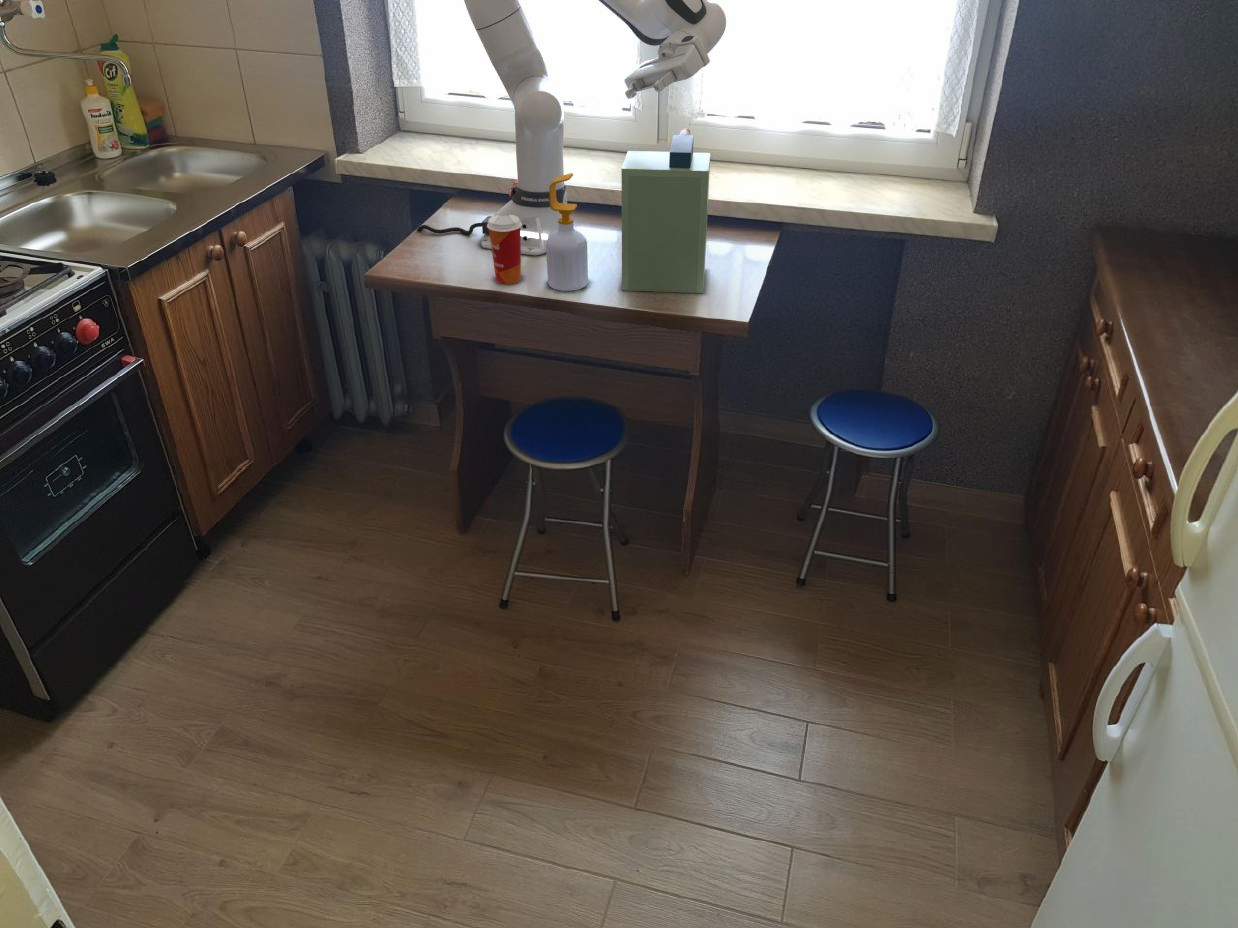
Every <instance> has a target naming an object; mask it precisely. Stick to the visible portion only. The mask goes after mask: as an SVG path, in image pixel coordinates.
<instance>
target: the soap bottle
mask: <svg viewBox="0 0 1238 928" xmlns="http://www.w3.org/2000/svg"><path fill="white" fill-rule="evenodd" d="M573 176H574V173H573V172H570V173H568V174H564V175H563V176H559V177H557V178H556V179H555V180H554V181H553V182H552V183H551V185H550V186H549V196H550V207H551V209H552V210H554V211H559V213H560V214H562V218H559V219H558V230H557V231H555V232H553V233H552V234H551V235H550V236H549V237H548V238H547V242H546V253H545V255H546V271H547V274H546V275H547V285H548V286H549V288H552V289H554V290H557V291H562V292H571V291H572V292H573V291H574V292H575V291H578V290H581V289H583V288H585V287H586V286H587V285H589V284H588V283H589V268H588V267H589V264H588V263H589V261H588V240H587V238H586V236H585V235H584V234H583V233H582V232H580V231H579V230H577V229H575V228H574V226H575V225H574V218H573V217H571V216H570V215H571V214H573V212H575V210H576V209H577V208H578V204H577V203H568V202H567V203H558V201H557V199H556V184H557V183H561V182H564V183H565V182H567V181H569V180H571V179H572V177H573Z"/></svg>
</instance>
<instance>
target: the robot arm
mask: <svg viewBox="0 0 1238 928" xmlns="http://www.w3.org/2000/svg"><path fill="white" fill-rule="evenodd" d="M463 2H464V5H465V7H466V8H465V9H466V11H467V12H468V13H467V14H468V15H469V18H470V20H471V23H472V25H473V27H474V30H475V31H476V33H477V36H478V38H479V39H480V42H481V44H482V46H483V48H484V50H485V52H486V55H487V57H488V58H489V61H490V63H491V65H492V66H493V68H494V70H495V72H496V73H497V76H498V78H499V79H500V82H501V83H502V85H503V87H504V89H505V91H506V94H507V95H508V97H509V99H510V102H511V104H512V108H513V112H514V113H513V114H514V127H515V157H516V171H517V173H516V174H517V180H515V182H513V184H512V187H511V188H510V191H509V192H508V194H509V197H510V198H511V199H510V200H509V201H508V202H507V203H505V205H503V206H502V207H501V208H499V209H498V210H497V211H496V212H495V213H494V214H493V215H488V216H487V217H485V218H484V219H483V220H482V221H481V222H475V223H473V224H471V225H470V226H469V229H468V230H466V229H464V228H462V227H457V226H455V227H447V228H442V229H441V228H439V229H437V228H433V227H431V226H430V225H427V224H422V225H420V226H419V227H418V228H417V229H416V231H417V232H422V230H427V231H429V232H431V233H434V234H446V233H447V234H449V233H453V232H459V233H462V234H463V235H466V236H470V235H472V234H473V233H474V229H476V228H481V232H482V234H483V235H482V237H481V247H483V248H484V249H488V250H492V248H491V241H490V234H489V229H488V228H487V224H488V221H489V219H490V218H491V217H493V216H497V215H499V216H502V215H507V216H509V215H514V216H517V217H518V218H519V219H520V222H521V223H522V226H521V255H522V254H523V255H527V256H528V255H529V256H540V255H543V254H546V242H547V238H548V237H549V236H550V235H551V234H552V233H553V232H555V231H557V230H558V219H559V218H562V214H560V213H559V211H554V210H552V209H551V207H550V196H549V186H550V185H551V183H552V182H553V181H554V180H555V179H556V178H557V177H559V176H563V175H565V174H564V173H565V172H564V133H565V132H564V127H565V125H564V124H565V119H564V117H565V116H564V112H565V109H564V101H563V98H562V96H561V93H560V91H559V88H558V86H557V83H556V81H555V79H554V77H553V75H552V72H551V70H550V68H549V66H548V64H547V61H546V59H545V57H544V55H543V53H542V50H541V48H540V45H539V44H538V41H537V39H536V37H535V35H534V32H533V30H532V29H531V26H530V23H529V22H528V19H527V17H526V15H525V12H524V11H523V8H522V6H521V4H520V2H519V0H463ZM598 2H599V3H601V4H602V5H603V6H605V7H606V8H607V9H608V10H609V11H611V12H612V13H613V14H614V15H615V16H617V17H618V18H619V20H621V21H622V22H624V23H625V24H626V26H627V27H628V28H629V30H631V32H632V33H633V34H634V35H635V37H636V38H638V39H639V41H640V42H642V43H644V44H646V45H648V46H653V47H655V46H656V47H657V46H658V47H657V57H656V58H653V59H649V60H646V61H643V62H642V63H640V64H639V65H637V66H636V67H635V68H634V69H632V71H630V72H629V73H628V74H627V75H626V76H625V77H624V85H625V86H626V88H627V90H625V92H624V95H625V97H626V98H627V99H628V100H629V99H634V98H635V97H636V96H637V95H638V92H642V91H645V90H650V89H654V91H655V92H656V93H659V92H662V91H663V90H664V89H665V88H667V87H669V86H670V85H672V84H673V83H678V82H681V81H685V80H688V79H690V78H692V77H694V76H695V75H696V74H697V73H698V72H699V71H700V70H701V69H703V68H704V67H706V66H707V65H709V63H710V62H711V60H710V57H709V55H708V54H709V53H710V52H711V51H712V50H713V49H714V48H715V47H716V46H717V44H718V43H719V42H720V40H721V39H722V37H723V36H724V34H725V31H726V27H727V17H726V14H725V12H724V10H723V8H722V6H720V5H719V4H718V3H717V2H715V1H711V0H598ZM556 199H557V201H558V203H567V204H568V192H567V185H566V183H565V181H564V182H561V183H557V184H556Z"/></svg>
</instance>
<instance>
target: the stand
mask: <svg viewBox="0 0 1238 928" xmlns="http://www.w3.org/2000/svg"><path fill="white" fill-rule="evenodd" d="M669 158H670V151H648V150H647V151H646V150H645V151H644V150H627V152H626V155H625V157H624V160H623V164H622V166H621V291H633V292H657V293H659V292H661V293H685V294H704V284H705V272H706V255H707V233H708V215H709V214H708V213H709V194H710V193H709V192H710V191H709V190H710V175H711V174H710V173H711V171H710V170H711V169H710V168H711V152H693V155H692V162H691V168H669Z"/></svg>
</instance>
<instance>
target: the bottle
mask: <svg viewBox="0 0 1238 928" xmlns="http://www.w3.org/2000/svg"><path fill="white" fill-rule="evenodd" d="M694 140H695V136H694V135H692V134H691V130H690V129H689V128H687V127H684V128H683V127H682V128H681V129H680V131H679V134H673V135H672V139H671V144H670V150H669V152H670V158H669V168H691V162H692V155H693V153H694V144H695V143H694Z"/></svg>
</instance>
